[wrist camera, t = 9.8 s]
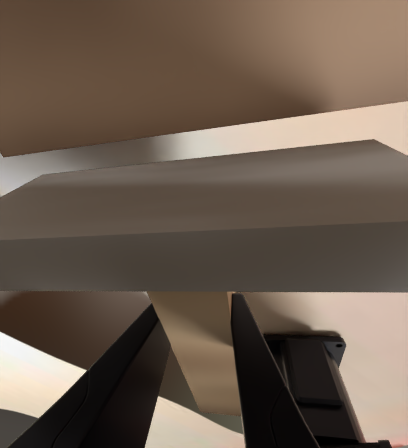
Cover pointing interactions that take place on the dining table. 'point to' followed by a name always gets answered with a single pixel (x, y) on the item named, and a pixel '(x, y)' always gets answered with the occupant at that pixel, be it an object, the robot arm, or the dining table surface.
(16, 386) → the dining table surface
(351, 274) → the scraper
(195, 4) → the board
